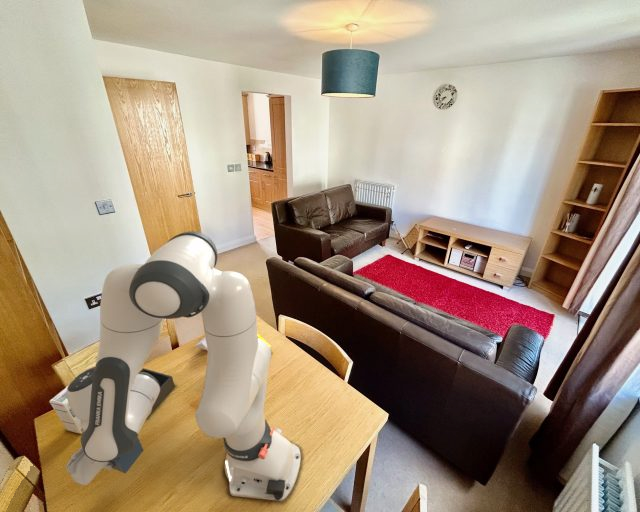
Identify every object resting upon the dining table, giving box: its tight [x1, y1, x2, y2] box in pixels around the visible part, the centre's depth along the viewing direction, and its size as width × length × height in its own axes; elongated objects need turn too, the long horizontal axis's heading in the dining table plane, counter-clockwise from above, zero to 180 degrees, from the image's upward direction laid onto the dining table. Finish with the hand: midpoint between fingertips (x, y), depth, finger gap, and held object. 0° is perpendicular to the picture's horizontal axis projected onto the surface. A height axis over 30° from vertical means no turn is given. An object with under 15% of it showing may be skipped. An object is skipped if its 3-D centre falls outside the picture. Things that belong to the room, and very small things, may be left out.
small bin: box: [111, 438, 145, 474], centre depth 75 cm, size 6×6×6 cm
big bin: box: [139, 367, 176, 419], centre depth 98 cm, size 13×13×6 cm
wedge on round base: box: [194, 336, 207, 351], centre depth 122 cm, size 9×7×13 cm
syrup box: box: [48, 385, 84, 435], centre depth 87 cm, size 6×6×14 cm
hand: (123, 453), depth 75 cm, fingers closed on small bin, 6 cm apart
